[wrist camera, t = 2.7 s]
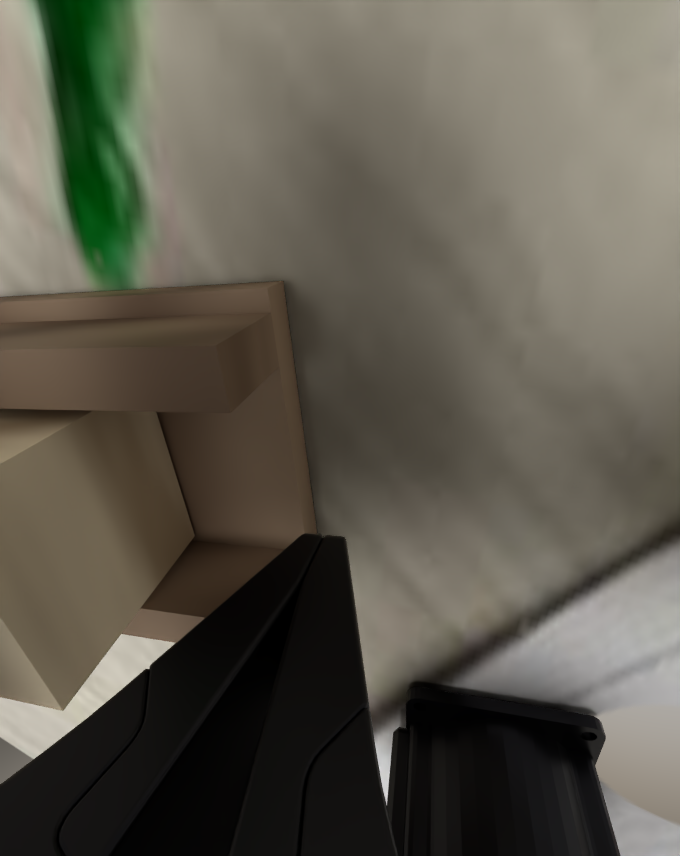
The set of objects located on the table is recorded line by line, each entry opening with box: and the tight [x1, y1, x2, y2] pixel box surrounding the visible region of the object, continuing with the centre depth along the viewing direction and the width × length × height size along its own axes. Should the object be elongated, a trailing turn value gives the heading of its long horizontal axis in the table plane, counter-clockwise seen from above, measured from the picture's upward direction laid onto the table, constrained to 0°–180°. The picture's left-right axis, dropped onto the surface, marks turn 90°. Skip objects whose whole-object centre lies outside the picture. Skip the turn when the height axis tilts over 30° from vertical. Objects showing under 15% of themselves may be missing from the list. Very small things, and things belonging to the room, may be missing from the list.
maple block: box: [0, 409, 195, 711], centre depth 10 cm, size 5×5×5 cm
